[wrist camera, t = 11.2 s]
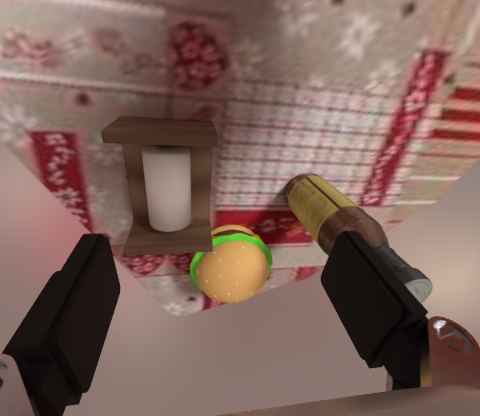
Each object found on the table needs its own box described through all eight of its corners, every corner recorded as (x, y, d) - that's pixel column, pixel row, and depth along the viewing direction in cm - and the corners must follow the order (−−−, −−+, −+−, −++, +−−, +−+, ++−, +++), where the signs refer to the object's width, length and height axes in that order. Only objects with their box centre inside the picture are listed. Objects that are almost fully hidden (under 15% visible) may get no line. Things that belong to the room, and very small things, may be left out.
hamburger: (189, 276, 41) (189, 322, 34) (190, 216, 35) (190, 256, 28) (258, 273, 43) (272, 315, 36) (269, 216, 37) (289, 253, 30)
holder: (120, 116, 27) (100, 131, 21) (211, 121, 29) (217, 136, 23) (136, 222, 34) (125, 255, 28) (208, 220, 36) (212, 251, 30)
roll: (146, 140, 28) (136, 154, 23) (191, 143, 28) (188, 156, 24) (153, 210, 32) (145, 232, 28) (191, 211, 33) (190, 232, 29)
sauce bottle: (286, 213, 38) (364, 335, 21) (280, 178, 34) (366, 288, 17) (326, 200, 38) (436, 311, 21) (324, 164, 34) (452, 260, 18)
